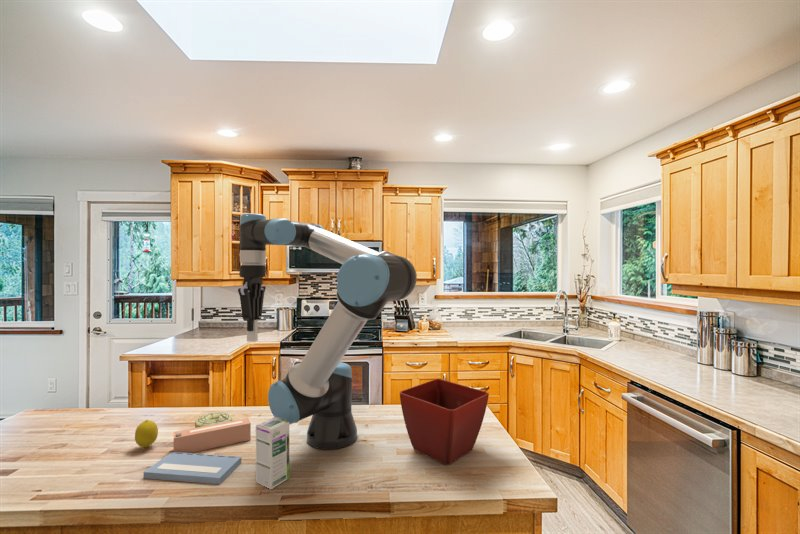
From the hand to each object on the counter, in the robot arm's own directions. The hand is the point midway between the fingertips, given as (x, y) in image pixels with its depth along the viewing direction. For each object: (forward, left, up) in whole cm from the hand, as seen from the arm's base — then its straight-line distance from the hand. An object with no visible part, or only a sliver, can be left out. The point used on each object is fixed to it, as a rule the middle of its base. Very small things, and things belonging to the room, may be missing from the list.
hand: (252, 340), depth 116 cm
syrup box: (-17, +22, -30) cm, 41 cm away
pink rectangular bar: (+8, +7, -29) cm, 31 cm away
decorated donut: (+15, -4, -30) cm, 34 cm away
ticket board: (+5, +20, -29) cm, 36 cm away
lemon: (+26, +11, -30) cm, 41 cm away
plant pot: (-59, +1, -30) cm, 66 cm away
